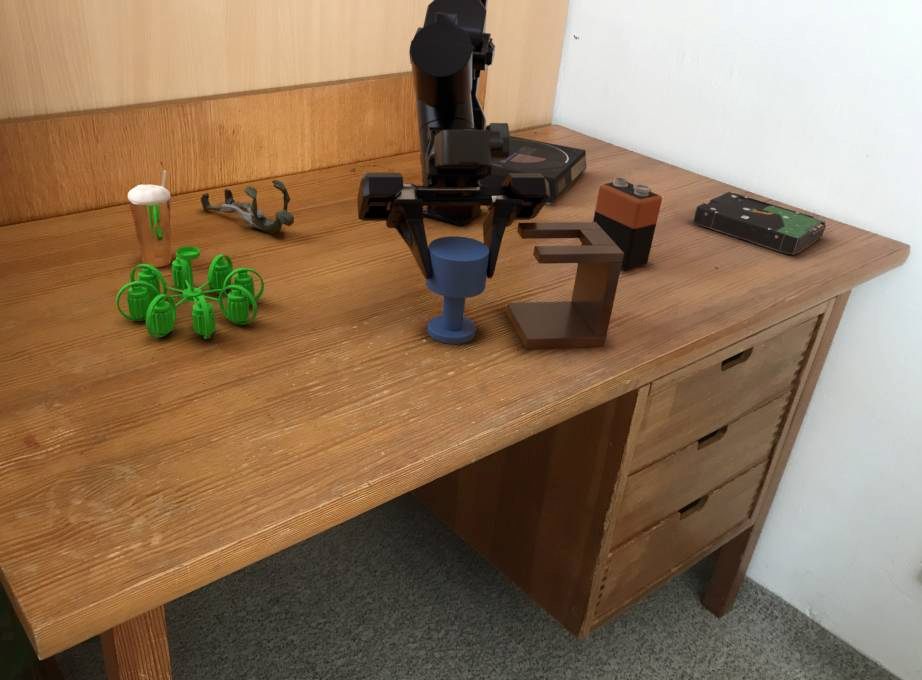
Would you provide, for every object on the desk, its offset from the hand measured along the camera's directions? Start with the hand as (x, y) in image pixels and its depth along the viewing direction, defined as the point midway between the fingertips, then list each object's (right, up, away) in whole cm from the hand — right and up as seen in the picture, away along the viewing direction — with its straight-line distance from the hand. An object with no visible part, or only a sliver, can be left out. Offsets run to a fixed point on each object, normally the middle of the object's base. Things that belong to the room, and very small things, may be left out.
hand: (459, 277), depth 81 cm
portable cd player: (+12, +21, +48) cm, 54 cm away
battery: (+21, +5, +24) cm, 32 cm away
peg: (-1, -5, +5) cm, 7 cm away
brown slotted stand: (+10, -5, +7) cm, 13 cm away
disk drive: (+44, +11, +35) cm, 57 cm away
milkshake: (-34, +4, +15) cm, 38 cm away
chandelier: (-28, -3, +5) cm, 28 cm away
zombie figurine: (-26, +10, +26) cm, 38 cm away
